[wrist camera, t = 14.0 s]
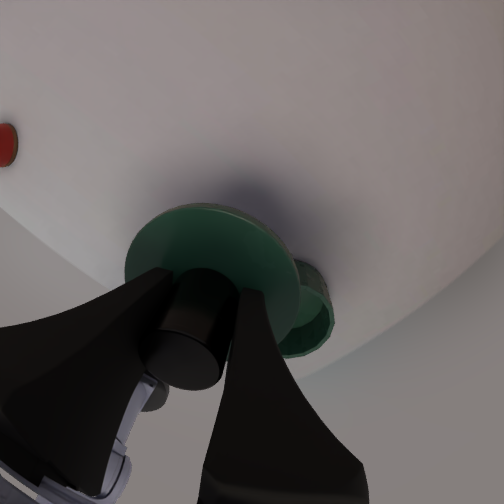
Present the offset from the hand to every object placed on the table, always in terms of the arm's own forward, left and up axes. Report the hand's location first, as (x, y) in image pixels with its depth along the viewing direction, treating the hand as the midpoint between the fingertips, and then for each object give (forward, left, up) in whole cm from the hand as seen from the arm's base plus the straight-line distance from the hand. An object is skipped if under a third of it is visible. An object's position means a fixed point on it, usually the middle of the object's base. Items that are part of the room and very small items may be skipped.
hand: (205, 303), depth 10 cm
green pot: (-3, -6, -10) cm, 12 cm away
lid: (0, 0, -1) cm, 1 cm away
